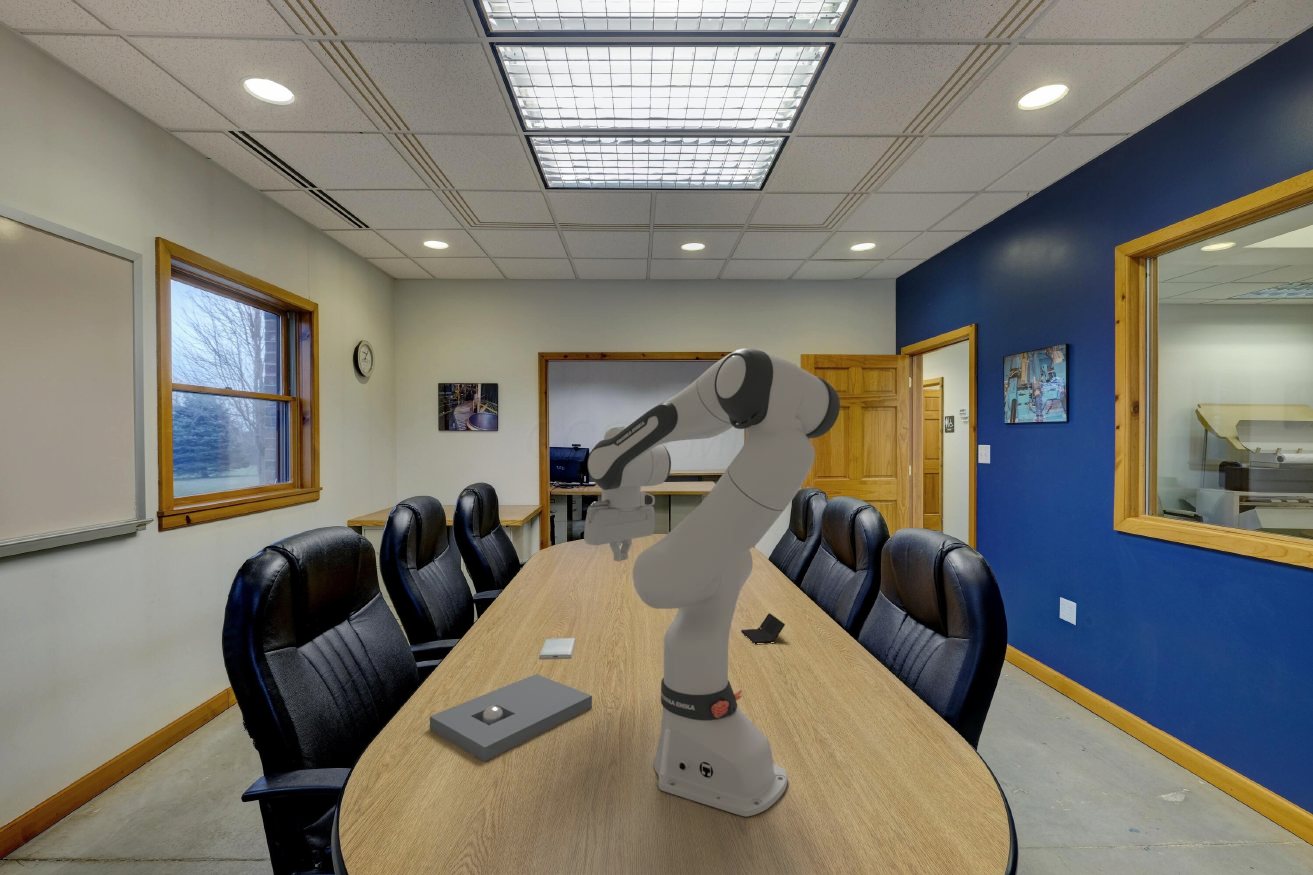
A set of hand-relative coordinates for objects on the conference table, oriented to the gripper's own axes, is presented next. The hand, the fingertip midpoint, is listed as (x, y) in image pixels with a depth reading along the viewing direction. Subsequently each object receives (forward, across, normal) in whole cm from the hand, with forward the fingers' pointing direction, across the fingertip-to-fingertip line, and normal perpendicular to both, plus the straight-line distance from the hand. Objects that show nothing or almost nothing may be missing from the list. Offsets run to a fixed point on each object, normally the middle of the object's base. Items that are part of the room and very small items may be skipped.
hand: (620, 560), depth 125 cm
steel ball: (+27, -28, +8) cm, 40 cm away
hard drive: (+30, +8, +30) cm, 43 cm away
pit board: (+29, -23, +8) cm, 38 cm away
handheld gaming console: (+30, +52, -8) cm, 61 cm away
